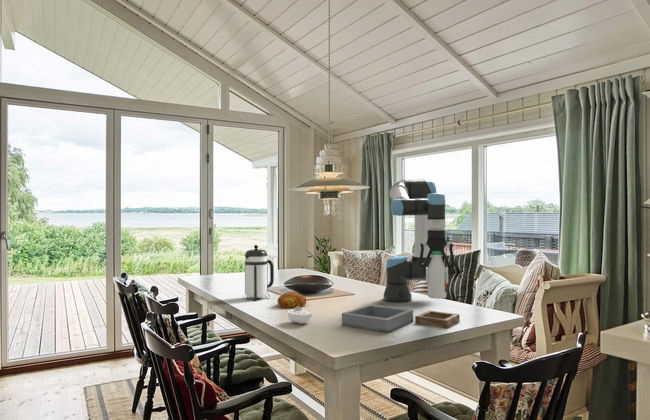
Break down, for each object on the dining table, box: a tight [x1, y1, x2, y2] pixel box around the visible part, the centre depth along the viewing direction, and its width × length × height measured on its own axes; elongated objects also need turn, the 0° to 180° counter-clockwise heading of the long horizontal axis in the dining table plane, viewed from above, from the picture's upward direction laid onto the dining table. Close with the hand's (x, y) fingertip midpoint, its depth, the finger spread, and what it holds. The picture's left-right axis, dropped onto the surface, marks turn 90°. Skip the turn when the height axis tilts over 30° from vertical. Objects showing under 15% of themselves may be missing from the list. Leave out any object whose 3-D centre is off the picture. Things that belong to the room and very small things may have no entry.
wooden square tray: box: [414, 310, 461, 329], centre depth 192 cm, size 14×14×3 cm
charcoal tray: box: [341, 304, 414, 334], centre depth 191 cm, size 22×22×5 cm
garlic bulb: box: [286, 307, 313, 325], centre depth 194 cm, size 10×12×7 cm
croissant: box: [277, 291, 308, 309], centre depth 231 cm, size 14×16×8 cm
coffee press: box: [242, 244, 275, 302], centre depth 253 cm, size 17×16×30 cm
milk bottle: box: [427, 251, 447, 300], centre depth 192 cm, size 8×8×20 cm
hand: (436, 282), depth 192 cm, fingers closed on milk bottle, 8 cm apart
